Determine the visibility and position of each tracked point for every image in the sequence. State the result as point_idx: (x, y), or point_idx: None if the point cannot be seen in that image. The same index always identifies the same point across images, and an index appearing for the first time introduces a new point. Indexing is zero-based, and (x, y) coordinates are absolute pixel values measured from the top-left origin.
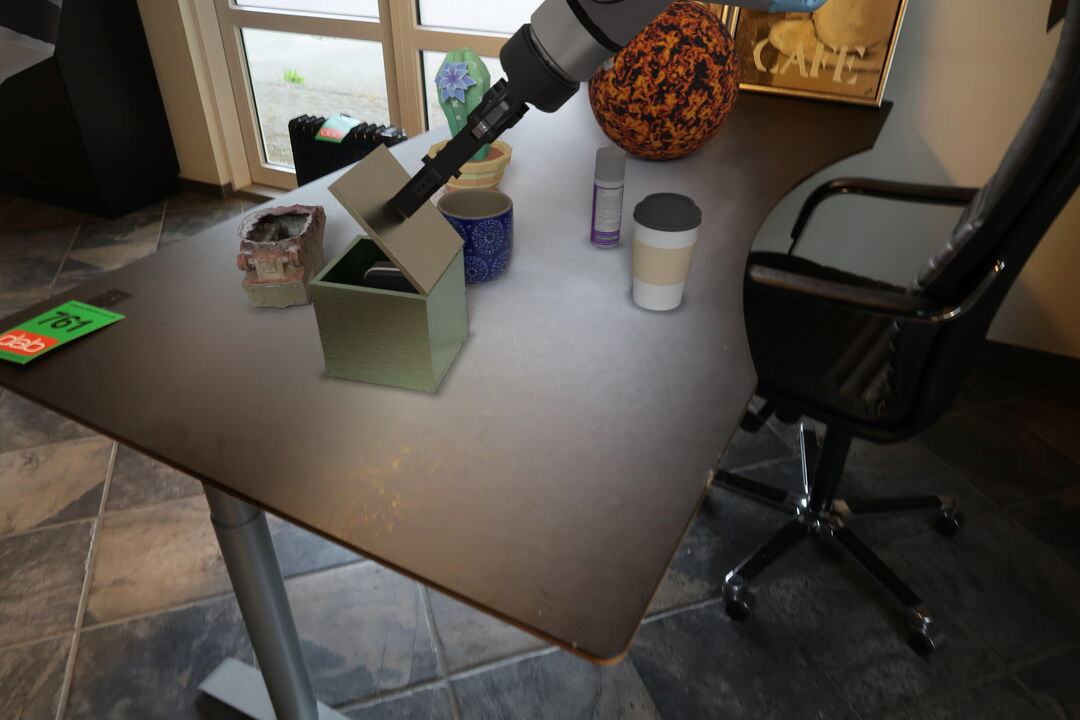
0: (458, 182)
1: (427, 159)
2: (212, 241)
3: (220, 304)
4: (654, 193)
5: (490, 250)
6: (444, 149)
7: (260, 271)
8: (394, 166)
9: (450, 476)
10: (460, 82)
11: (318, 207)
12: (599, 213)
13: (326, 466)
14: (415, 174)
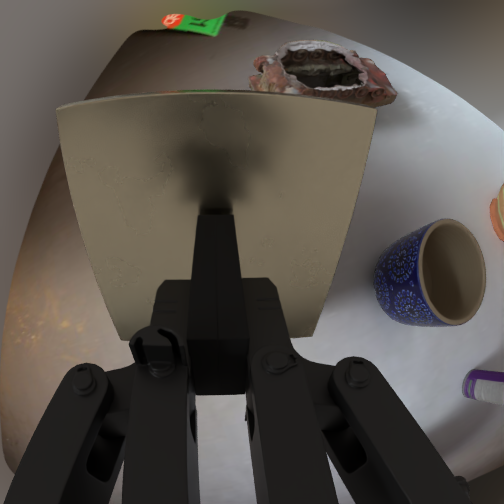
0: (501, 208)
1: (151, 357)
2: (339, 43)
3: (252, 74)
4: (468, 493)
5: (401, 312)
6: (11, 492)
7: (262, 81)
8: (336, 166)
9: (65, 373)
10: None
11: (391, 91)
12: (489, 386)
13: (52, 267)
14: (191, 285)
